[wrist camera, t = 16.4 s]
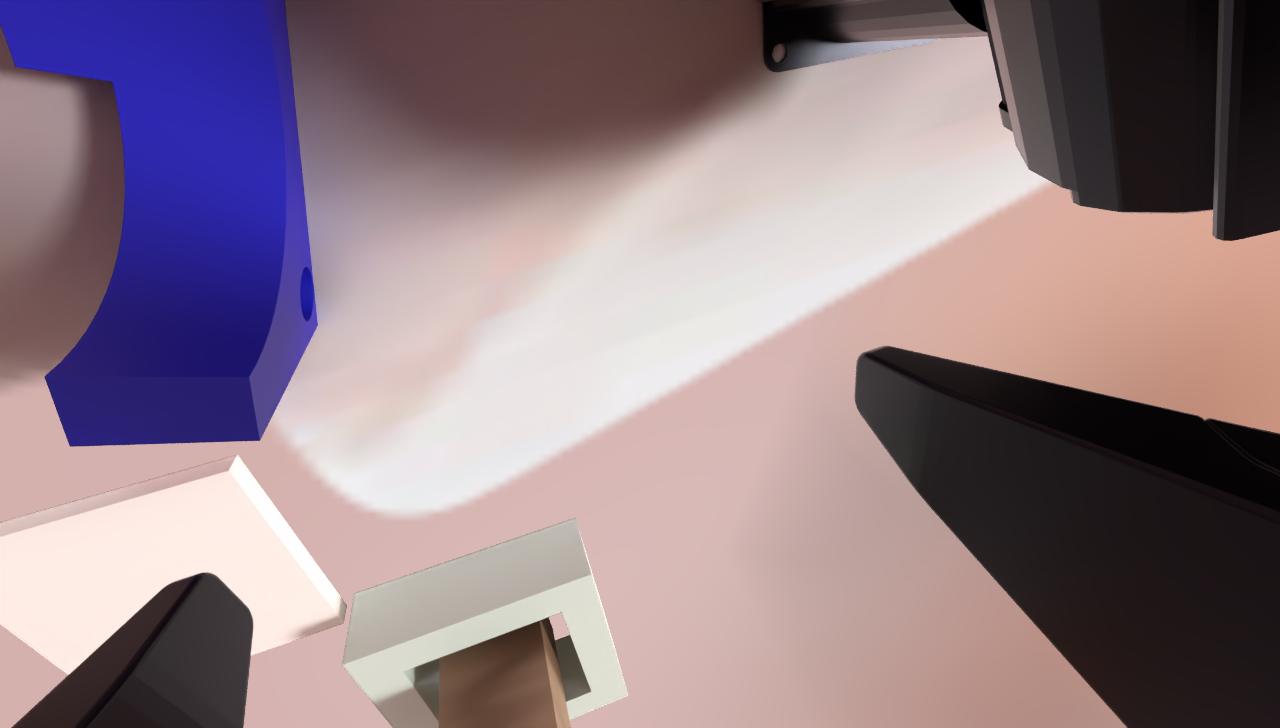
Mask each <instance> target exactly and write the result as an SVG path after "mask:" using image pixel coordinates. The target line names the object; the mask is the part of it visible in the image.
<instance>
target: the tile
mask: <svg viewBox="0 0 1280 728" xmlns="http://www.w3.org/2000/svg"><path fill="white" fill-rule="evenodd" d="M203 572H209V573H212V574H215V575H216V576H217V577H219V578H220V579H221V580H222V581H223V582H224V583H225V584H226V585H227V586H228V587H229V588H230V589H231V590H232V591H233V592H234V593H235V595H236V596H237V597H238V598H239V599H240V600H241V601H242V602H243V603H244V604H245V605H246V606H247V607H248V608H249V610H250V612H251V614H252V618H253V637H252V647H251V655H254V654H257V653H260V652H263V651H265V650H269V649H271V648H274V647H277V646H280V645H283V644H285V643H288V642H291V641H294V640H297V639H300V638H303V637H306V636H308V635H311V634H314V633H317V632H320V631H323V630H326V629H328V628H331V627H334V626H337V625H340V624H343V623H344V618H345V613H346V608H347V605H346V604H345V602H344V601H343V599H342V598H341V597H340V595H339V594H338V593H337V591H336V590H335V588H334V587H333V586H332V584H331V583H330V582H329V580H328V579H327V578H326V576H325V575H324V573H323V572H322V571H321V569H320V568H319V566H318V565H317V564H316V562H315V561H314V559H313V558H312V557H311V555H310V554H309V553H308V551H307V550H306V549H305V547H304V546H303V544H302V543H301V542H300V540H299V539H298V538H297V536H296V535H295V533H294V532H293V531H292V529H291V528H290V526H289V525H288V524H287V522H286V521H285V520H284V518H283V517H282V516H281V514H280V513H279V511H278V510H277V509H276V507H275V506H274V504H273V503H272V502H271V500H270V499H269V497H268V496H267V495H266V493H265V492H264V491H263V489H262V488H261V487H260V485H259V484H258V482H257V481H256V480H255V478H254V477H253V475H252V474H251V473H250V471H249V470H248V469H247V467H246V466H245V464H244V463H243V462H242V460H241V459H240V458H239V456H238V455H234V456H231V457H227V458H224V459H220V460H217V461H213V462H210V463H207V464H203V465H199V466H196V467H192V468H189V469H185V470H182V471H178V472H175V473H171V474H168V475H164V476H161V477H157V478H154V479H150V480H147V481H143V482H140V483H136V484H133V485H129V486H126V487H122V488H119V489H115V490H111V491H108V492H104V493H101V494H97V495H94V496H90V497H87V498H83V499H80V500H77V501H73V502H70V503H66V504H62V505H59V506H55V507H52V508H49V509H45V510H42V511H38V512H34V513H31V514H27V515H24V516H20V517H17V518H13V519H10V520H6V521H3V522H0V625H2V626H3V627H5V628H6V629H7V630H9V631H10V632H11V633H13V634H14V635H15V636H17V637H18V638H19V639H21V640H22V641H23V642H25V643H26V644H27V645H29V646H30V647H31V648H33V649H34V650H35V651H37V652H38V653H39V654H41V655H42V656H43V657H45V658H46V659H47V660H49V661H50V662H51V663H53V664H54V665H55V666H57V667H58V668H60V669H61V670H62V671H64V672H65V673H66V674H68V675H69V674H70V673H71V672H72V671H73V670H75V669H76V668H77V667H78V666H79V665H80V664H81V663H82V662H83V661H84V660H85V659H87V658H88V657H89V656H90V655H91V654H92V653H93V652H94V651H95V650H96V649H97V648H98V647H100V646H101V645H102V644H103V643H104V642H105V641H106V640H107V639H108V638H109V637H110V636H111V635H113V634H114V633H115V632H116V631H117V630H118V629H119V628H120V627H121V626H122V625H123V624H125V623H126V622H127V621H128V620H129V619H130V618H131V617H132V616H133V615H134V614H135V613H136V612H138V611H139V610H140V609H141V608H142V607H143V606H144V605H145V604H146V603H147V602H148V601H150V600H151V599H152V598H153V597H154V596H155V595H156V594H157V593H158V592H159V591H160V590H161V589H163V588H164V587H165V586H167V585H168V584H170V583H172V582H175V581H177V580H180V579H183V578H186V577H189V576H192V575H195V574H198V573H203Z"/></svg>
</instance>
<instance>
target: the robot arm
mask: <svg viewBox="0 0 1280 728" xmlns="http://www.w3.org/2000/svg"><path fill="white" fill-rule="evenodd" d="M757 1H758V2H760V3H761V2H762V10H763V57H764V62H765V65H766V66H767V68H768V69H769V70H771V71H773V72H782V71H787V70H792V69H797V68H802V67H807V66H812V65H817V64H822V63H828V62H833V61H838V60H843V59H848V58H853V57H858V56H863V55H868V54H873V53H878V52H883V51H888V50H893V49H898V48H903V47H908V46H914V45H919V44H924V43H929V42H932V41H935V40H936V39H937V38H958V37H978V36H988V38H989V42H990V47H991V51H992V56H993V60H994V65H995V69H996V74H997V78H998V83H999V87H1000V91H1001V96H1002V101H1001V102H1000V104H999V110H1000V114H1001V119H1002V123H1003V125H1004V127H1006V128H1007V129H1009V130H1011V131H1012V132H1013V134H1014V139H1015V143H1016V147H1017V148H1018V150H1019V152H1020V154H1021V156H1022V158H1023V159H1024V161H1025V163H1026V165H1027V167H1028V168H1029V170H1031V171H1033V172H1035V173H1037V174H1038V175H1040V176H1042V177H1044V178H1046V179H1047V180H1049V181H1051V182H1053V183H1055V184H1057V185H1058V186H1060V187H1063V188H1066V189H1070V193H1071V198H1072V200H1073V202H1074V203H1076V204H1078V205H1080V206H1086V207H1092V208H1099V209H1104V210H1111V211H1117V212H1128V213H1192V212H1201V211H1210V210H1213V236H1215V238H1217V239H1220V240H1225V241H1226V240H1228V241H1233V240H1239V239H1244V238H1247V237H1252V236H1257V235H1261V234H1265V233H1270V232H1273V231H1278V230H1280V0H757ZM777 44H783V46H784V47H785V50H786V54H785V58H784V59H783V60H782V61H781V62H779V63H776V62H775V61H774V60H773V57H772V52H773V49H774V47H775V46H776V45H777ZM855 402H856V405H857V409H858V411H859V412H860V414H861V416H862V417H863V418H864V420H865V421H866V422H867V424H868V425H869V427H870V428H871V429H872V431H873V432H874V434H875V435H876V436H877V438H878V439H879V440H880V442H881V443H882V445H883V446H884V447H885V449H886V450H887V452H888V453H889V454H890V456H891V457H892V458H893V460H894V461H895V463H896V464H897V465H898V467H899V468H900V469H901V471H902V472H903V474H904V475H905V476H906V478H907V479H908V480H909V482H910V483H911V484H912V486H913V487H914V488H915V490H916V491H917V492H918V493H919V494H920V496H921V497H922V498H923V499H924V500H925V501H926V503H927V504H928V505H929V506H930V507H931V508H932V510H933V511H934V512H935V513H936V514H937V515H938V516H939V517H940V519H941V520H943V522H944V523H945V524H946V525H947V526H948V528H950V530H951V531H952V532H953V533H954V534H955V535H956V536H957V538H958V539H959V540H960V541H961V542H962V543H963V544H964V545H965V546H966V548H967V549H968V550H969V551H970V552H971V553H972V554H973V556H974V557H975V558H976V559H977V560H978V561H979V562H980V563H981V564H982V566H983V567H984V568H985V569H986V570H987V571H988V572H989V573H990V574H991V576H992V577H993V578H994V579H995V580H996V581H997V582H998V584H999V585H1000V586H1001V587H1002V588H1003V589H1004V590H1005V591H1006V592H1007V593H1008V595H1009V596H1010V597H1011V598H1012V599H1013V600H1014V601H1015V603H1016V604H1017V605H1018V606H1019V607H1020V608H1021V609H1022V610H1023V612H1024V613H1025V614H1026V615H1027V616H1028V617H1029V618H1030V619H1031V620H1032V622H1033V623H1034V624H1035V625H1036V626H1037V627H1038V628H1039V629H1040V631H1041V632H1042V633H1043V634H1044V635H1045V636H1046V637H1047V638H1048V640H1049V641H1050V642H1051V643H1052V644H1053V645H1054V646H1055V647H1056V648H1057V649H1058V651H1059V652H1060V653H1061V654H1062V655H1063V656H1064V657H1065V658H1066V660H1067V661H1068V662H1069V663H1070V664H1071V665H1072V666H1073V667H1074V669H1075V670H1076V671H1077V672H1078V673H1079V674H1080V675H1081V676H1082V678H1083V679H1084V680H1085V681H1086V682H1087V683H1088V684H1089V685H1090V687H1091V688H1092V689H1093V690H1094V691H1095V692H1096V693H1097V694H1098V696H1099V697H1100V698H1101V699H1102V700H1103V701H1104V702H1105V703H1106V705H1107V706H1108V707H1109V708H1110V709H1111V710H1112V711H1113V712H1114V713H1115V715H1116V716H1117V717H1118V718H1119V719H1120V720H1121V721H1122V722H1123V724H1124V725H1125V726H1126V727H1127V728H1280V434H1279V433H1274V432H1270V431H1265V430H1260V429H1256V428H1251V427H1247V426H1242V425H1238V424H1234V423H1229V422H1225V421H1220V420H1216V419H1211V418H1208V419H1205V420H1204V419H1203V418H1202V417H1200V416H1197V415H1193V414H1189V413H1184V412H1180V411H1175V410H1171V409H1166V408H1162V407H1157V406H1153V405H1149V404H1144V403H1140V402H1135V401H1131V400H1126V399H1122V398H1117V397H1113V396H1108V395H1104V394H1100V393H1095V392H1091V391H1086V390H1082V389H1077V388H1073V387H1069V386H1064V385H1059V384H1055V383H1051V382H1046V381H1042V380H1038V379H1033V378H1028V377H1024V376H1019V375H1015V374H1011V373H1006V372H1002V371H998V370H993V369H989V368H984V367H979V366H975V365H971V364H966V363H962V362H957V361H953V360H949V359H944V358H940V357H935V356H931V355H927V354H922V353H918V352H913V351H908V350H904V349H900V348H895V347H891V346H882V347H878V348H875V349H872V350H869V351H867V352H864V353H862V354H861V355H860V356H859V357H858V360H857V366H856V383H855ZM252 637H253V618H252V614H251V612H250V610H249V608H248V607H247V606H246V605H245V604H244V603H243V602H242V601H241V600H240V599H239V598H238V597H237V596H236V595H235V593H234V592H233V591H232V590H231V589H230V588H229V587H228V586H227V585H226V584H225V583H224V582H223V581H222V580H221V579H220V578H219V577H217V576H216V575H215V574H212V573H209V572H203V573H198V574H195V575H192V576H189V577H186V578H183V579H180V580H177V581H175V582H172V583H170V584H168V585H167V586H165V587H164V588H163V589H161V590H160V591H159V592H158V593H157V594H156V595H155V596H154V597H153V598H152V599H151V600H150V601H148V602H147V603H146V604H145V605H144V606H143V607H142V608H141V609H140V610H139V611H138V612H136V613H135V614H134V615H133V616H132V617H131V618H130V619H129V620H128V621H127V622H126V623H125V624H123V625H122V626H121V627H120V628H119V629H118V630H117V631H116V632H115V633H114V634H113V635H111V636H110V637H109V638H108V639H107V640H106V641H105V642H104V643H103V644H102V645H101V646H100V647H98V648H97V649H96V650H95V651H94V652H93V653H92V654H91V655H90V656H89V657H88V658H87V659H85V660H84V661H83V662H82V663H81V664H80V665H79V666H78V667H77V668H76V669H75V670H73V671H72V672H71V673H70V674H69V675H68V676H67V677H66V678H65V679H64V680H63V681H62V682H61V683H60V684H58V685H57V686H56V687H55V688H54V689H53V690H52V691H51V692H50V693H49V694H47V695H46V696H45V697H44V698H43V699H42V700H41V701H40V702H39V703H38V704H37V705H35V707H34V708H32V709H31V710H30V711H29V712H28V713H27V714H26V715H25V716H24V717H23V718H21V719H20V720H19V721H18V722H17V723H16V724H15V725H14V726H13V727H12V728H243V725H244V715H245V705H246V696H247V686H248V676H249V667H250V657H251V647H252Z"/></svg>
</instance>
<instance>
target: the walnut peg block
mask: <svg viewBox="0 0 1280 728" xmlns="http://www.w3.org/2000/svg"><path fill="white" fill-rule="evenodd" d="M439 728H571V726H570V721H569V715H568V710H567V705H566V699H565V694H564V688H563V683H562V677H561V672H560V667H559V661H558V656H557V650H556V645H555V639H554V634H553V629H552V626H551V623H550V620H549V618H548V617H547V618H545V619H542V620H539V621H537V622H534V623H531V624H529V625H526V626H523V627H521V628H518V629H515V630H513V631H510V632H507V633H505V634H502V635H499V636H497V637H494V638H491V639H489V640H486V641H483V642H480V643H478V644H475V645H472V646H470V647H467V648H464V649H462V650H459V651H456V652H454V653H451V654H448V655H446V656H443V657H440V671H439Z"/></svg>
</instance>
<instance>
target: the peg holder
mask: <svg viewBox="0 0 1280 728" xmlns="http://www.w3.org/2000/svg"><path fill="white" fill-rule="evenodd" d="M561 612H562V614H563V617H564V619H565V622H566V625H567V628H568V630H569V633H570V635H569V636H566V637H563V638H561V639H558V640H556V641H555V645H556V650H557V656H558V661H559V667H560V672H561V677H562V683H563V688H564V694H565V699H566V705H567V710H568V715H569V720H571V719H573V718H575V717H578V716H580V715H583V714H585V713H588V712H590V711H592V710H595V709H597V708H600V707H602V706H605V705H606V704H609V703H612V702H614V701H616V700H619V699H622V698H624V697H626V696H628V693H627V689H626V685H625V682H624V678H623V675H622V671H621V668H620V664H619V661H618V657H617V654H616V650H615V647H614V643H613V640H612V636H611V633H610V630H609V627H608V623H607V620H606V617H605V613H604V610H603V607H602V603H601V600H600V597H599V594H598V590H597V587H596V583H595V580H594V577H593V573H592V570H591V567H590V564H589V560H588V557H587V554H586V551H585V547H584V544H583V541H582V537H581V534H580V531H579V527H578V524H577V521H576V518H573V519H570V520H568V521H565V522H562V523H559V524H556V525H553V526H550V527H547V528H544V529H541V530H538V531H535V532H533V533H529V534H527V535H524V536H521V537H518V538H515V539H512V540H509V541H506V542H503V543H500V544H497V545H495V546H491V547H489V548H486V549H483V550H480V551H477V552H474V553H471V554H468V555H465V556H462V557H459V558H456V559H453V560H451V561H448V562H445V563H442V564H439V565H436V566H433V567H430V568H427V569H424V570H421V571H418V572H416V573H413V574H410V575H407V576H404V577H401V578H398V579H395V580H392V581H389V582H386V583H383V584H381V585H378V586H375V587H372V588H369V589H366V590H363V591H360V592H357V593H355V594H354V600H353V606H352V611H351V617H350V623H349V628H348V635H347V640H346V645H345V652H344V657H343V663H342V666H343V667H344V668H345V669H346V670H347V672H348V673H349V674H350V675H351V677H352V678H353V679H354V680H355V682H356V683H357V684H358V685H359V686H360V688H361V689H362V690H363V691H364V693H365V694H366V695H367V696H368V697H369V699H370V700H371V701H372V702H373V704H374V705H375V706H376V707H377V709H378V710H379V711H380V712H381V714H382V715H383V716H384V717H385V718H386V720H387V721H388V722H389V723H390V725H391V726H392V727H393V728H439V671H440V657H443V656H446V655H448V654H451V653H454V652H456V651H459V650H462V649H464V648H467V647H470V646H472V645H475V644H478V643H480V642H483V641H486V640H489V639H491V638H494V637H497V636H499V635H502V634H505V633H507V632H510V631H513V630H515V629H518V628H521V627H523V626H526V625H529V624H531V623H534V622H537V621H539V620H542V619H545V618H547V617H550V616H553V615H555V614H558V613H561Z"/></svg>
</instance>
